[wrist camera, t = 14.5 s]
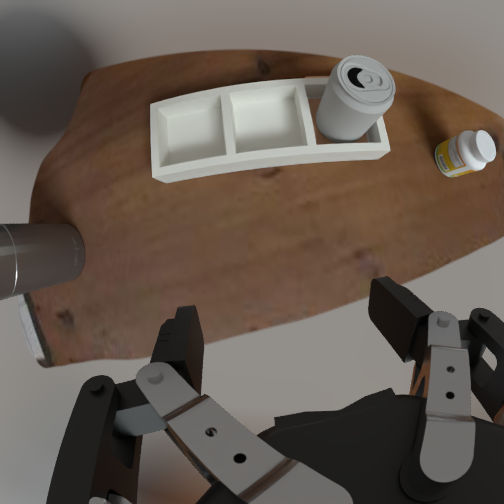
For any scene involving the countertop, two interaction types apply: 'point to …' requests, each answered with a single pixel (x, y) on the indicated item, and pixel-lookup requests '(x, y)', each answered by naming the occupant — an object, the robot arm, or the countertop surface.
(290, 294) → the countertop surface
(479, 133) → the supplement bottle
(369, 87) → the beverage can
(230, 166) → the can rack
